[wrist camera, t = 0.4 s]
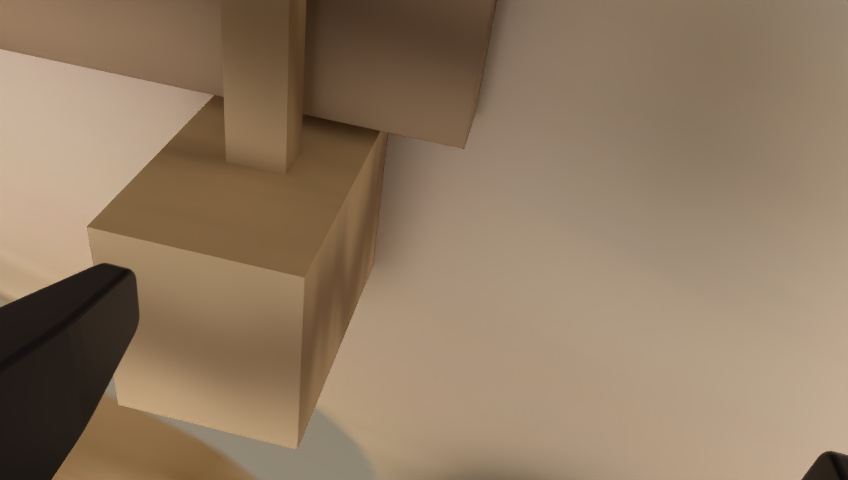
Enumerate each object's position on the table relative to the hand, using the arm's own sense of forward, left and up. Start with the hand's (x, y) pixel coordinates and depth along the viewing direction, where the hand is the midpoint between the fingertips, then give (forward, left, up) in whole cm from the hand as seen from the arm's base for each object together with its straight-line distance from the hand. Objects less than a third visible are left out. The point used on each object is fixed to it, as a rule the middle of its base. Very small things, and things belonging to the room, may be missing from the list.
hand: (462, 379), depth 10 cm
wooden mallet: (-3, +6, -13) cm, 15 cm away
